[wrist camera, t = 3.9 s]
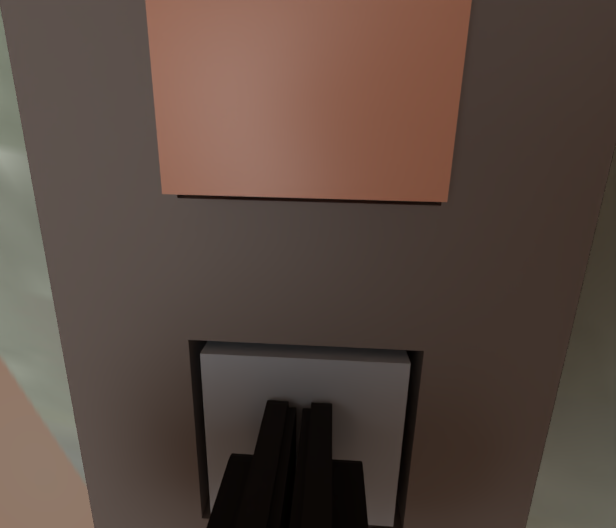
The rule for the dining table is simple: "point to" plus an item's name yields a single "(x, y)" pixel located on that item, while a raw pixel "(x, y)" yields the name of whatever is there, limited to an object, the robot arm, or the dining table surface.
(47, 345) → the dining table surface
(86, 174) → the key panel
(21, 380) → the dining table surface
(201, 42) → the terracotta key
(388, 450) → the slate key
